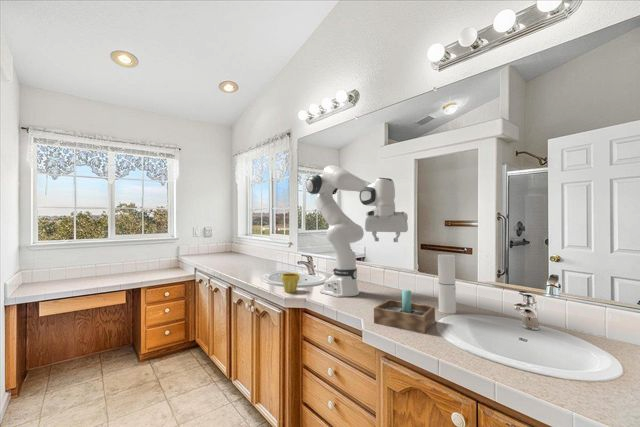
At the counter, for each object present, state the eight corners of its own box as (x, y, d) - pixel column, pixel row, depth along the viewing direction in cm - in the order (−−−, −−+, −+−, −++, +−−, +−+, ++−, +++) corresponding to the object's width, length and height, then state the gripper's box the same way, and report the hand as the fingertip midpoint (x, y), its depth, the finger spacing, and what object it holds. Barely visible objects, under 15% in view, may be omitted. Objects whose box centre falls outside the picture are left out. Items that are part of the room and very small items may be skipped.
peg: (404, 318, 127) (403, 289, 127) (412, 319, 125) (412, 290, 125) (401, 320, 124) (400, 291, 124) (409, 322, 122) (409, 292, 122)
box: (373, 322, 122) (373, 307, 122) (388, 312, 134) (388, 299, 134) (424, 333, 110) (423, 316, 110) (435, 321, 122) (434, 306, 122)
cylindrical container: (435, 310, 137) (434, 255, 137) (447, 308, 140) (446, 254, 140) (447, 314, 131) (446, 256, 131) (459, 312, 133) (458, 255, 134)
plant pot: (303, 291, 175) (302, 274, 175) (288, 294, 168) (288, 276, 168) (292, 288, 183) (292, 272, 183) (278, 291, 176) (278, 274, 176)
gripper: (409, 211, 137) (410, 242, 137) (368, 212, 149) (369, 240, 149) (405, 211, 132) (405, 243, 132) (363, 212, 144) (363, 241, 144)
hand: (386, 241), depth 140 cm, fingers open, 8 cm apart
